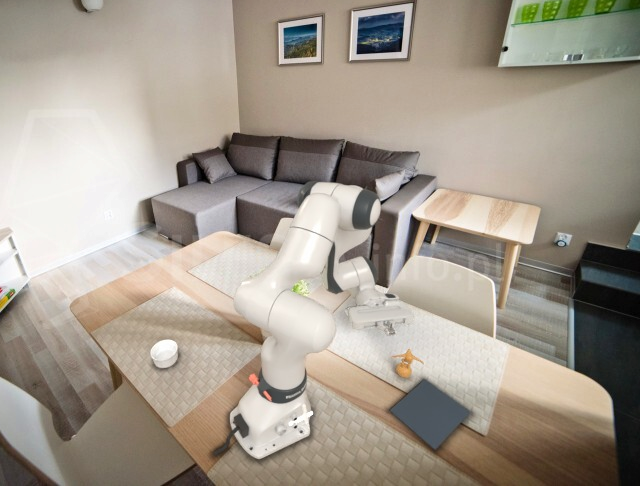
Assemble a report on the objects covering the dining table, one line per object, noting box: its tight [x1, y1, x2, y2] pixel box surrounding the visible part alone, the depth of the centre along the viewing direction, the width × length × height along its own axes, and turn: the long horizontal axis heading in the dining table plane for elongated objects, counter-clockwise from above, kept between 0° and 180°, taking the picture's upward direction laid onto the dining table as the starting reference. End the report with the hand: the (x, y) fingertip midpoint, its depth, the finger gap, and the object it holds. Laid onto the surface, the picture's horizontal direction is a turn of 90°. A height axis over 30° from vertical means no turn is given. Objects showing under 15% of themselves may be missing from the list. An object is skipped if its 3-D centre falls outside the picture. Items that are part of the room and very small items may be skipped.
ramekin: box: [149, 339, 179, 369], centre depth 108 cm, size 9×9×4 cm
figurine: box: [390, 348, 425, 379], centre depth 93 cm, size 8×6×12 cm
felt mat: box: [389, 379, 471, 451], centre depth 86 cm, size 16×12×1 cm
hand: (392, 334), depth 99 cm, fingers closed
